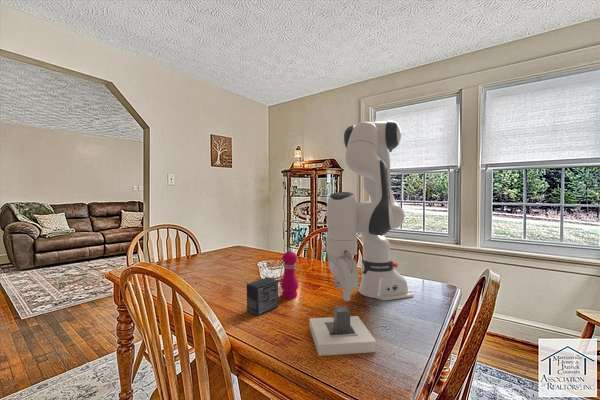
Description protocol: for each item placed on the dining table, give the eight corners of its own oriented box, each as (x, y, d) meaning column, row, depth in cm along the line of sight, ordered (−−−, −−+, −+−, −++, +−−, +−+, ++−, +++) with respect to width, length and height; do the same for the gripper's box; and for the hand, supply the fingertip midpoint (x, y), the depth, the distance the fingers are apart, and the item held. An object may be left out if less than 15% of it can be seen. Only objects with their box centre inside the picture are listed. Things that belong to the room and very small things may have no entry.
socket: (357, 324, 97) (357, 315, 97) (376, 352, 81) (376, 340, 81) (309, 327, 95) (309, 317, 95) (318, 355, 79) (318, 343, 79)
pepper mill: (296, 300, 118) (296, 250, 117) (278, 298, 120) (278, 249, 119) (299, 293, 125) (300, 246, 124) (283, 292, 127) (283, 246, 126)
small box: (266, 302, 115) (266, 276, 115) (279, 307, 111) (279, 279, 111) (245, 311, 107) (245, 283, 107) (258, 316, 103) (258, 287, 103)
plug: (346, 335, 91) (346, 306, 90) (349, 341, 87) (350, 311, 86) (333, 335, 90) (333, 306, 90) (336, 342, 86) (336, 312, 86)
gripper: (364, 255, 77) (364, 307, 78) (342, 240, 97) (343, 282, 98) (340, 256, 76) (340, 309, 77) (324, 241, 97) (324, 283, 97)
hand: (342, 293), depth 88 cm, fingers open, 8 cm apart
